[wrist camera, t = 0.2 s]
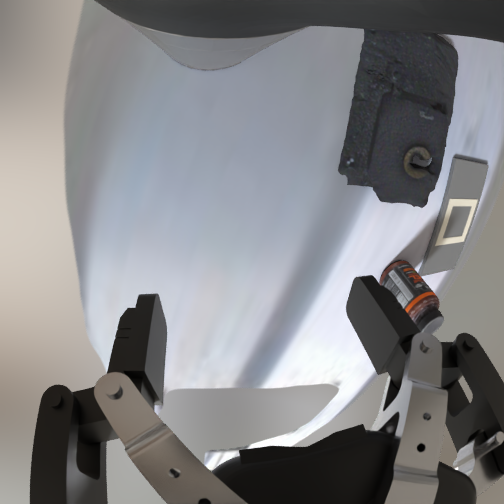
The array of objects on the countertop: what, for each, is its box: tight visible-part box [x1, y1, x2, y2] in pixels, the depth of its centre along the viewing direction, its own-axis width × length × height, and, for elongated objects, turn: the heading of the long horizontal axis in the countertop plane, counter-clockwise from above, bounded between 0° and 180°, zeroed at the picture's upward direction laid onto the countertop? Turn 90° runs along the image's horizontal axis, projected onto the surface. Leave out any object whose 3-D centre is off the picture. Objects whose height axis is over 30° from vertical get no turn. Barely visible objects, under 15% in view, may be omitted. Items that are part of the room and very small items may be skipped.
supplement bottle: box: [380, 261, 444, 334], centre depth 34 cm, size 6×6×11 cm
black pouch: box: [338, 29, 458, 208], centre depth 22 cm, size 15×22×5 cm
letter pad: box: [418, 157, 489, 276], centre depth 34 cm, size 20×10×1 cm, turn 1°
